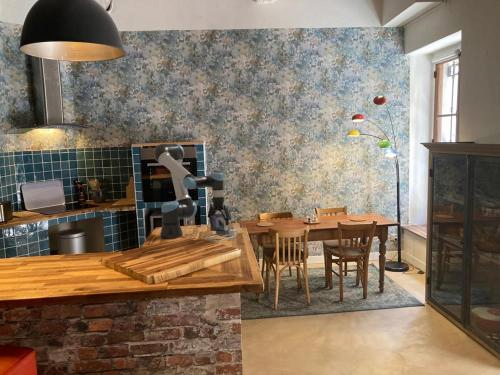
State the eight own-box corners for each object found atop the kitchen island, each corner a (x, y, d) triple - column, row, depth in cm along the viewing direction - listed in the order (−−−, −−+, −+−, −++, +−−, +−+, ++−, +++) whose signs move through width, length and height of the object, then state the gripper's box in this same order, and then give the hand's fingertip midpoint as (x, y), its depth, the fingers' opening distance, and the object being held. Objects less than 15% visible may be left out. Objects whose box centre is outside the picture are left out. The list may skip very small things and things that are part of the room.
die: (228, 236, 277) (228, 230, 277) (231, 234, 281) (231, 228, 280) (234, 236, 275) (234, 230, 275) (236, 235, 279) (236, 229, 279)
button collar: (215, 233, 285) (215, 228, 284) (224, 231, 292) (224, 226, 291) (225, 235, 279) (225, 229, 279) (234, 233, 286) (234, 227, 285)
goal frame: (203, 239, 269) (203, 238, 269) (220, 234, 281) (220, 234, 281) (218, 241, 260) (218, 241, 260) (235, 237, 273) (235, 236, 273)
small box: (210, 231, 269) (209, 215, 268) (213, 229, 275) (213, 213, 274) (225, 231, 266) (224, 215, 265) (228, 229, 272) (228, 214, 271)
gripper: (201, 196, 273) (202, 228, 275) (227, 198, 258) (228, 232, 260) (209, 195, 279) (210, 226, 281) (235, 196, 263) (236, 230, 265)
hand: (219, 229), depth 270 cm, fingers closed on small box, 12 cm apart
